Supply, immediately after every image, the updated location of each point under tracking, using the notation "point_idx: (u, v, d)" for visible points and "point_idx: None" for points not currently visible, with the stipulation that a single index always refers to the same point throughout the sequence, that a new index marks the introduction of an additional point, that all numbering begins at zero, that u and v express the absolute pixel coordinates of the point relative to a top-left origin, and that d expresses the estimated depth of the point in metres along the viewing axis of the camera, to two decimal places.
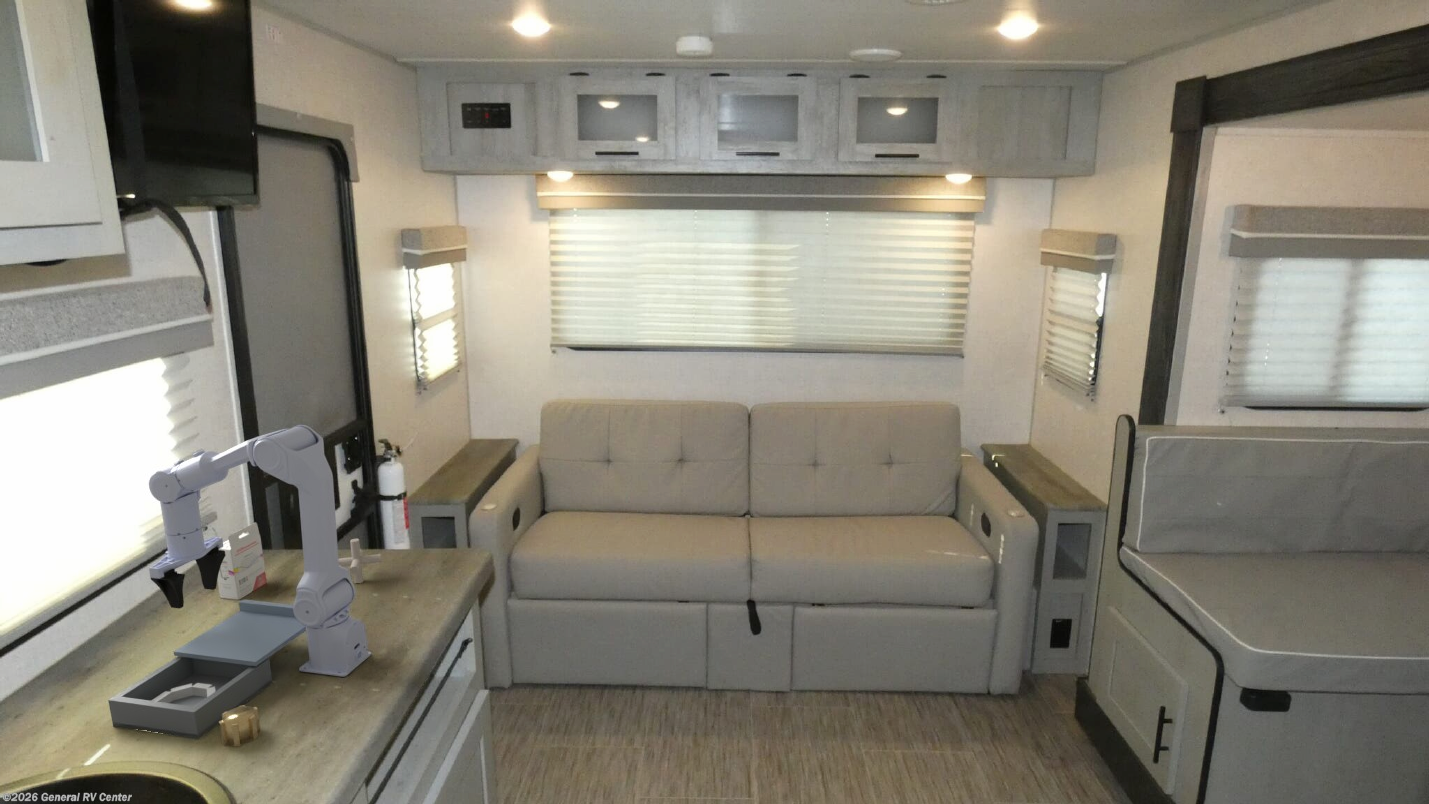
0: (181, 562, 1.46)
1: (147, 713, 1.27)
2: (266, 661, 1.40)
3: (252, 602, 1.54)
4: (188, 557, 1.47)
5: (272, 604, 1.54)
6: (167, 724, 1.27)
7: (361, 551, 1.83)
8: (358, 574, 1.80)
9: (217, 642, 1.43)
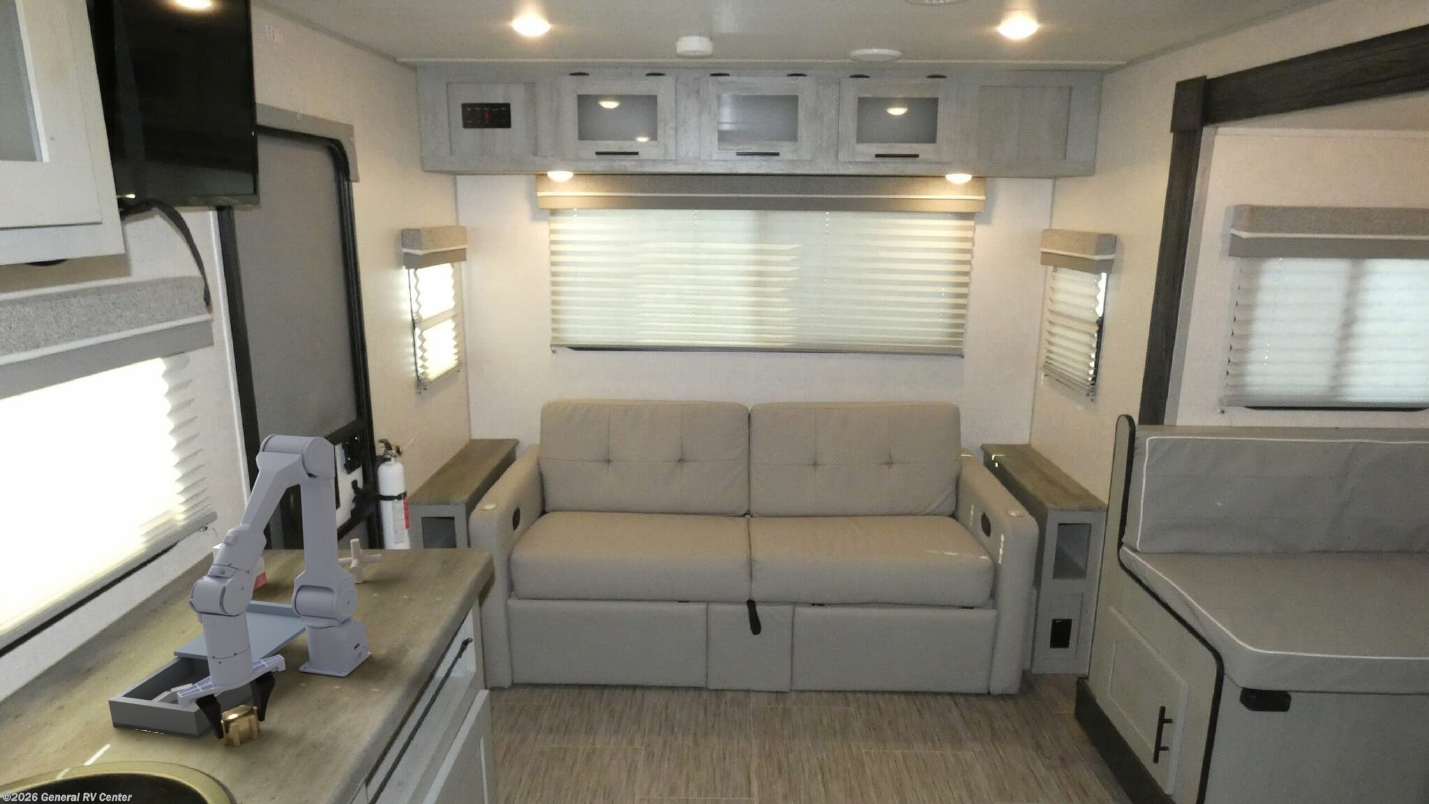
0: (212, 691, 1.21)
1: (147, 713, 1.27)
2: None
3: (252, 602, 1.54)
4: (222, 686, 1.22)
5: (272, 604, 1.54)
6: (167, 724, 1.27)
7: (361, 551, 1.83)
8: (358, 574, 1.80)
9: None
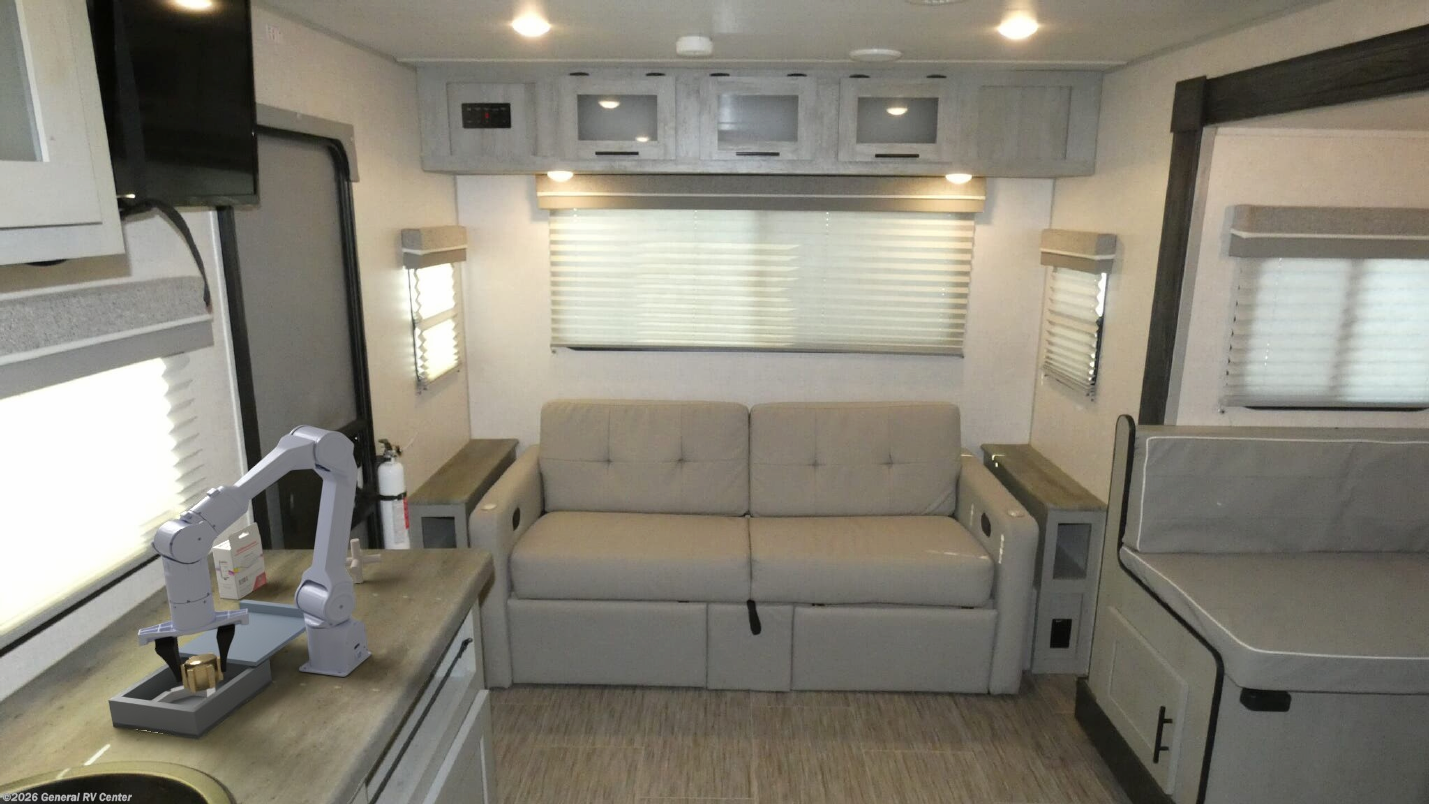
0: (167, 634, 1.23)
1: (147, 713, 1.27)
2: (266, 661, 1.40)
3: (252, 602, 1.54)
4: (177, 630, 1.23)
5: (272, 604, 1.54)
6: (167, 724, 1.27)
7: (361, 551, 1.83)
8: (358, 574, 1.80)
9: None
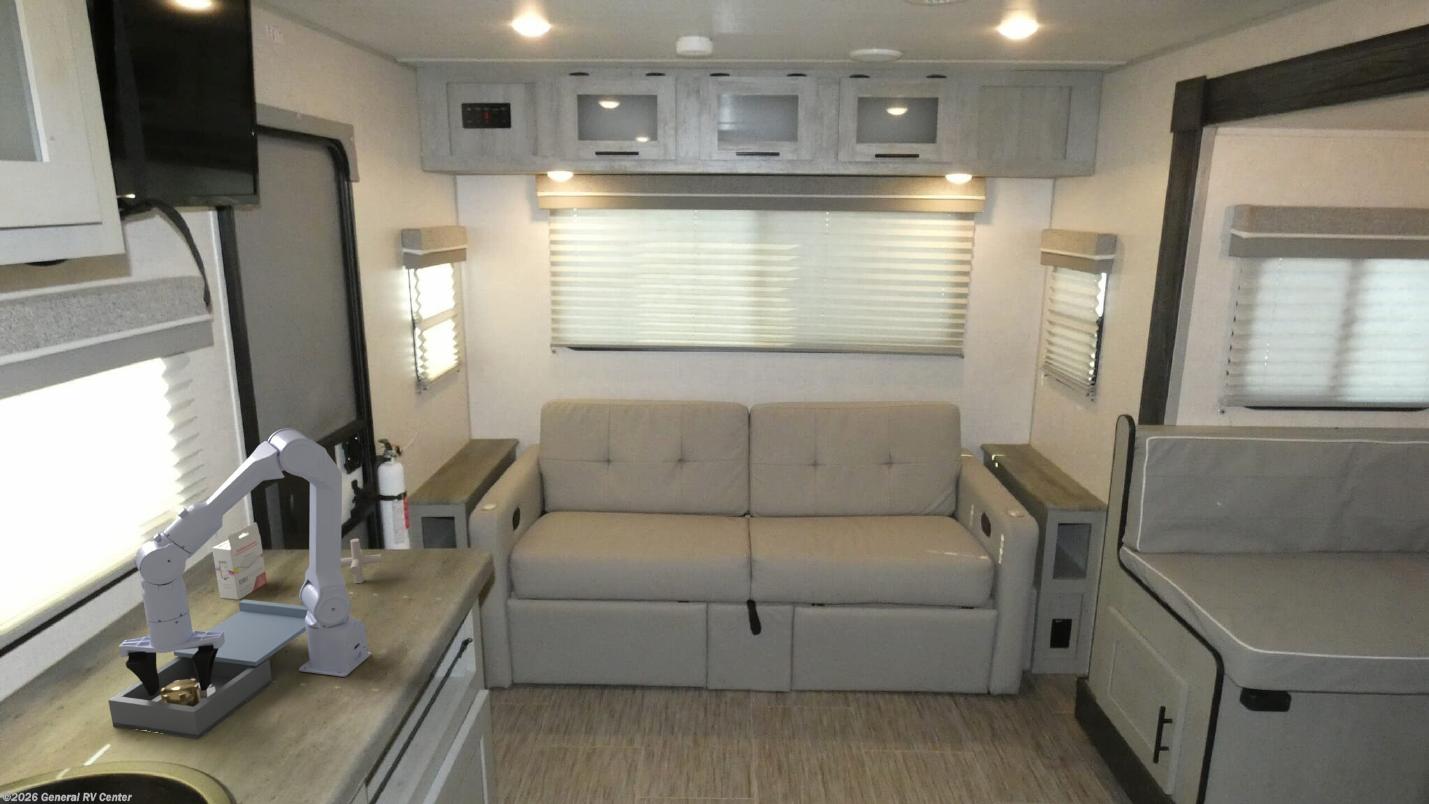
0: (143, 649, 1.28)
1: (147, 713, 1.27)
2: (266, 661, 1.40)
3: (252, 602, 1.54)
4: (151, 647, 1.28)
5: (272, 604, 1.54)
6: (167, 724, 1.27)
7: (361, 551, 1.83)
8: (358, 574, 1.80)
9: None
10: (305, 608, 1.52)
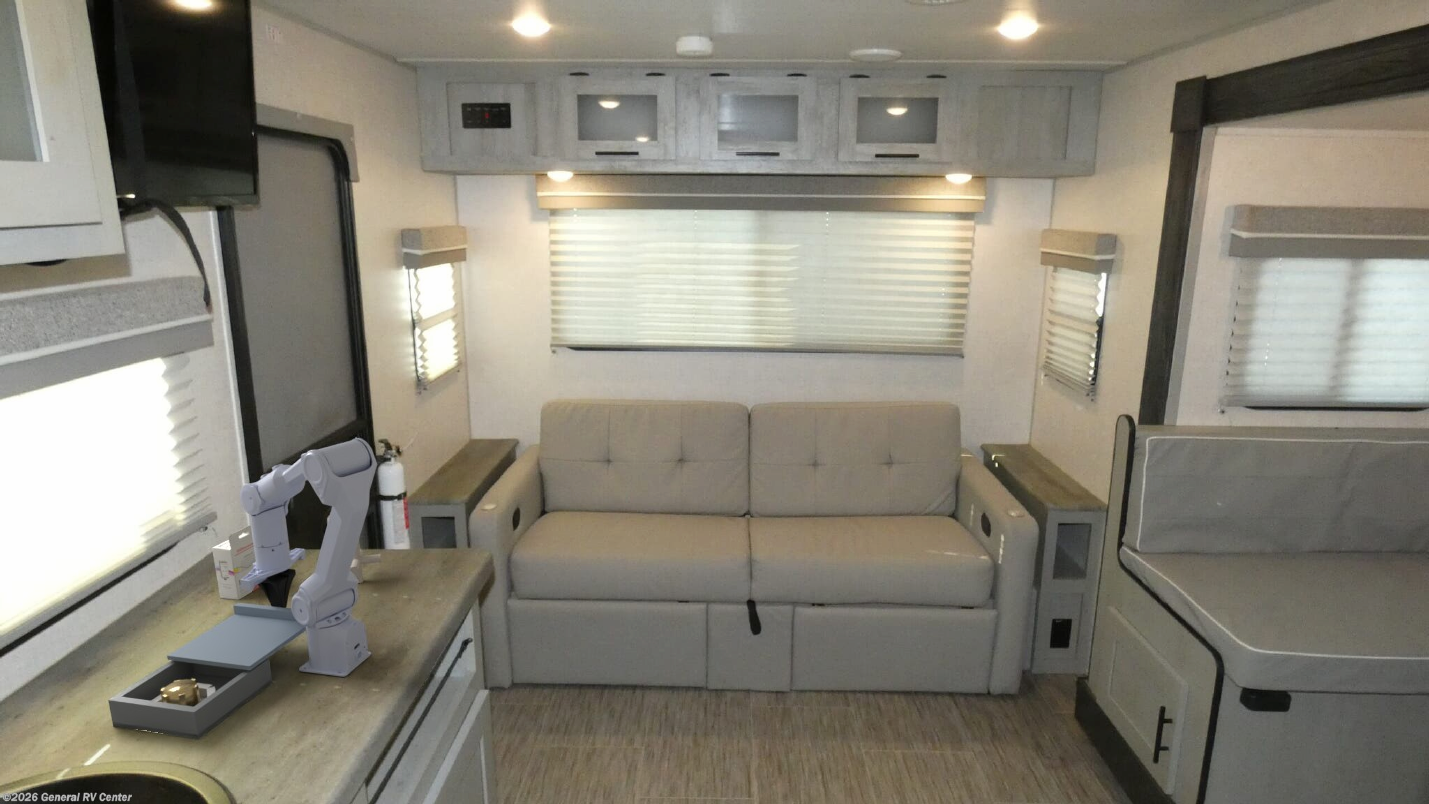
0: (270, 574, 1.48)
1: (147, 713, 1.27)
2: (266, 661, 1.40)
3: (246, 605, 1.53)
4: (276, 569, 1.49)
5: (267, 607, 1.53)
6: (167, 724, 1.27)
7: (361, 551, 1.83)
8: (358, 574, 1.80)
9: (211, 646, 1.42)
10: None
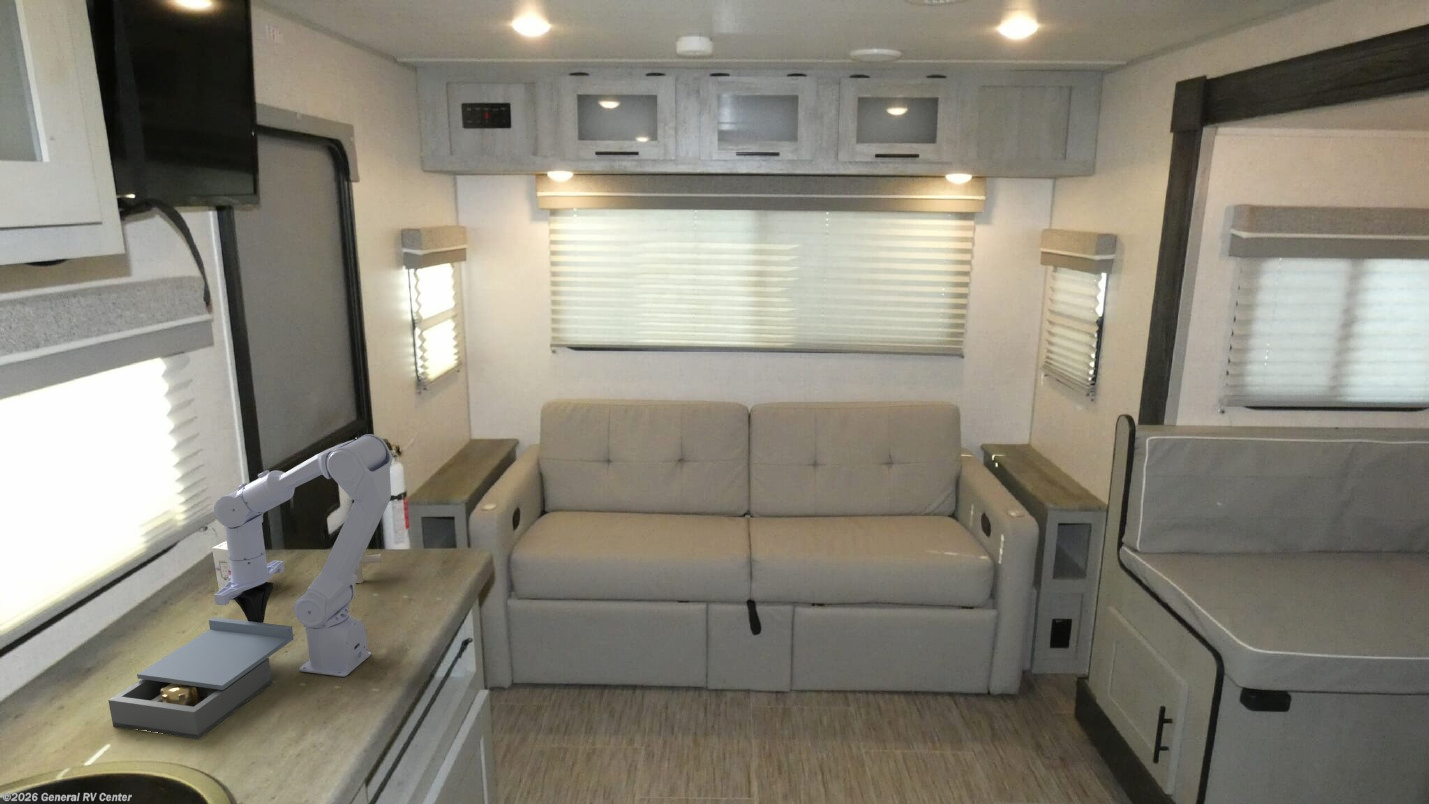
0: (245, 588, 1.43)
1: (147, 713, 1.27)
2: (266, 661, 1.40)
3: (222, 620, 1.48)
4: (252, 583, 1.44)
5: (243, 622, 1.47)
6: (167, 724, 1.27)
7: None
8: (358, 574, 1.80)
9: (183, 664, 1.36)
10: (278, 627, 1.45)
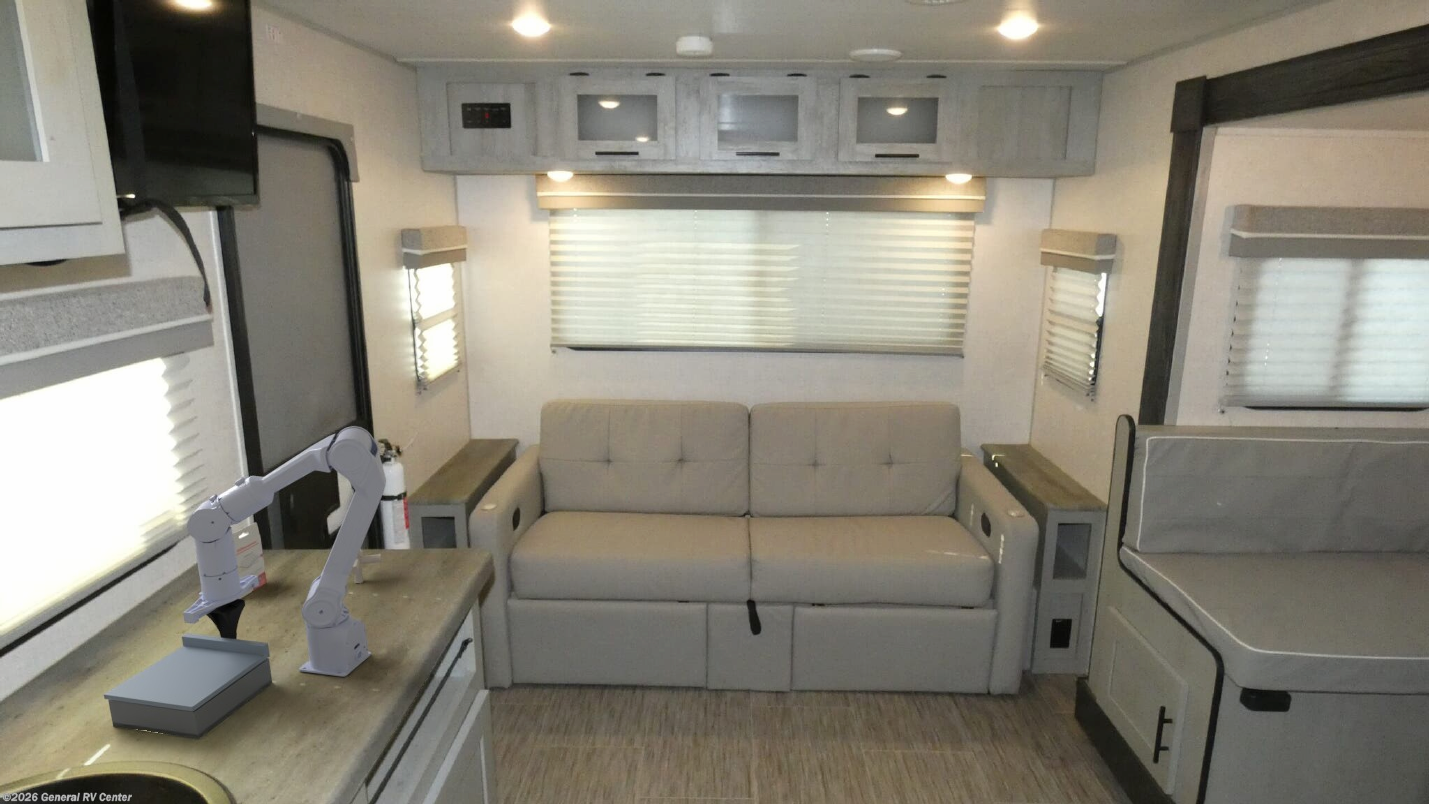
0: (216, 605, 1.36)
1: (147, 713, 1.27)
2: (266, 661, 1.40)
3: (196, 636, 1.42)
4: (224, 599, 1.37)
5: (217, 638, 1.41)
6: (167, 724, 1.27)
7: (361, 551, 1.83)
8: (358, 574, 1.80)
9: (153, 683, 1.31)
10: (253, 643, 1.40)
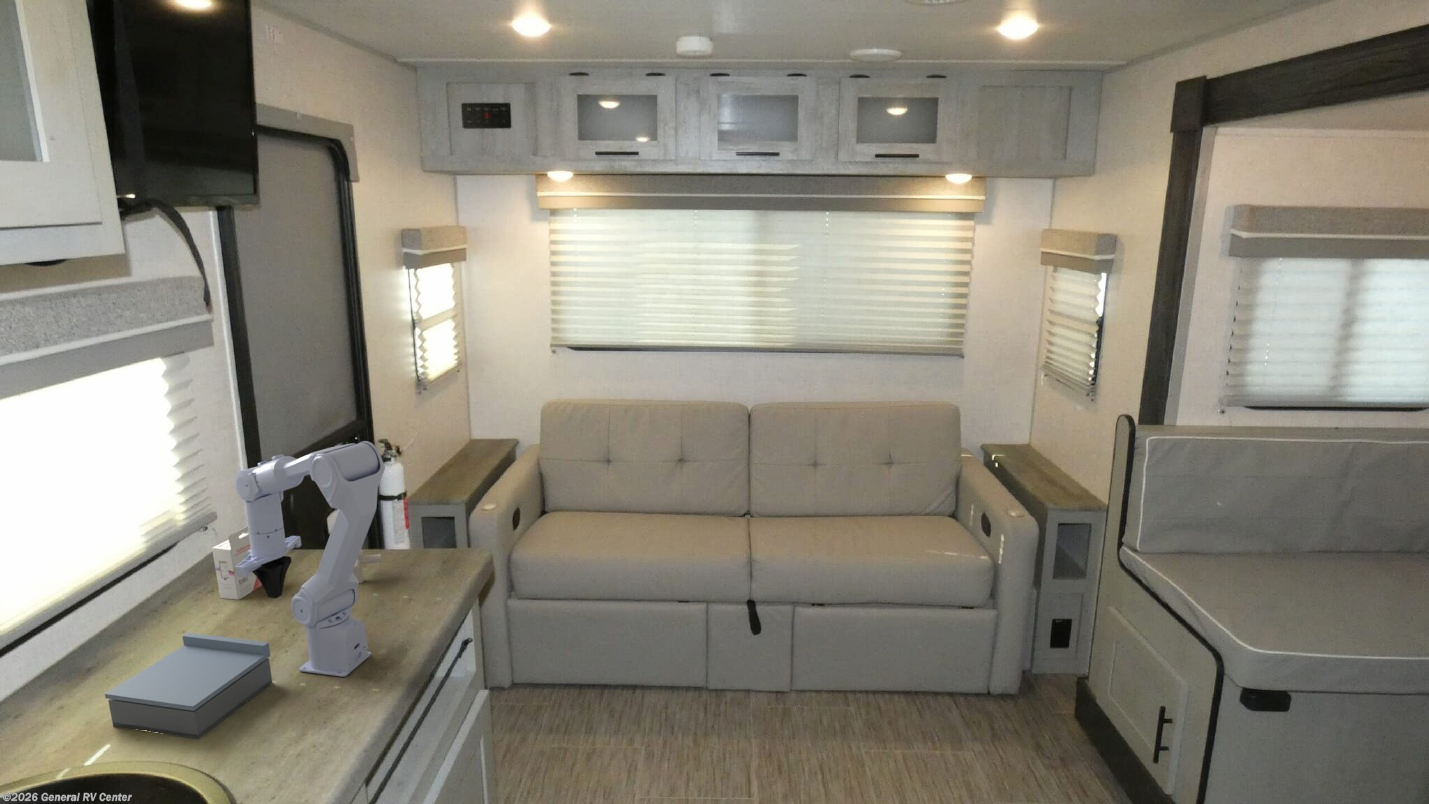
0: (265, 561, 1.47)
1: (147, 713, 1.27)
2: (266, 661, 1.40)
3: (196, 635, 1.42)
4: (271, 556, 1.48)
5: (218, 638, 1.41)
6: (167, 724, 1.27)
7: (361, 551, 1.83)
8: (358, 574, 1.80)
9: (154, 682, 1.31)
10: (254, 643, 1.40)
